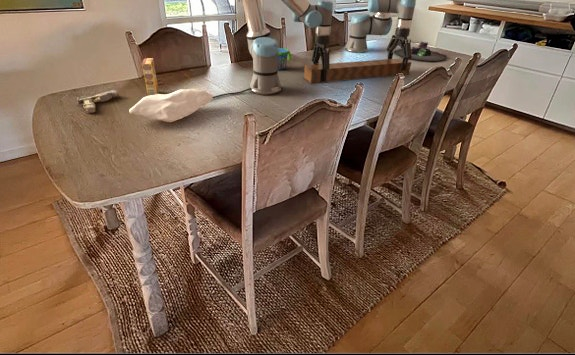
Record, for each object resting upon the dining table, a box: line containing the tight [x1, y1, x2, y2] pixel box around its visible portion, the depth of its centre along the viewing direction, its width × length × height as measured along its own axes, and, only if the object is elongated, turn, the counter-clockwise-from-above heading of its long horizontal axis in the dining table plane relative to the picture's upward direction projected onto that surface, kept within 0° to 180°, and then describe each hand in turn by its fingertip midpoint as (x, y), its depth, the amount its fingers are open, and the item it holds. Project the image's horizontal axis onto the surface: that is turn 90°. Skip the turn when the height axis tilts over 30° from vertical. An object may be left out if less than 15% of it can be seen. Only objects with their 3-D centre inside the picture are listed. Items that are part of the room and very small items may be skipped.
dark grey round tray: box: [393, 41, 447, 62], centre depth 246 cm, size 35×35×9 cm
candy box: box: [141, 57, 160, 96], centre depth 163 cm, size 9×4×15 cm, turn 13°
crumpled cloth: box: [129, 88, 214, 123], centre depth 147 cm, size 24×35×9 cm
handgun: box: [76, 89, 120, 114], centre depth 155 cm, size 3×18×15 cm
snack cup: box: [278, 47, 292, 71], centre depth 207 cm, size 16×10×10 cm
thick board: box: [303, 57, 412, 84], centre depth 201 cm, size 62×9×7 cm, turn 112°
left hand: (319, 78), depth 195 cm, fingers closed on thick board, 9 cm apart
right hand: (395, 67), depth 209 cm, fingers open, 13 cm apart
